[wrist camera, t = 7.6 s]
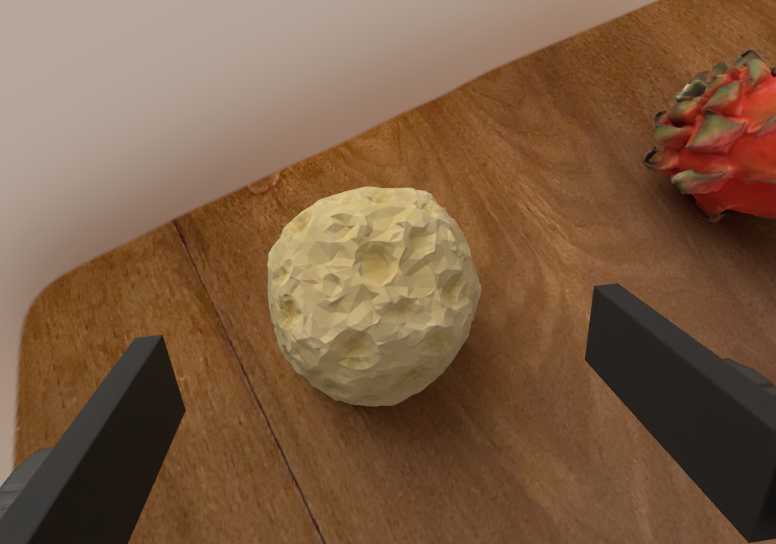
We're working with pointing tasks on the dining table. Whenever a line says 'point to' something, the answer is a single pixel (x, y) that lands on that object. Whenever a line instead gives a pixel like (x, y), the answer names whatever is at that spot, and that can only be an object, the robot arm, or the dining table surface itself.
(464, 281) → the pale yellow lumpy ball
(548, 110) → the dining table surface
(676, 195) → the dining table surface
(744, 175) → the dragon fruit
